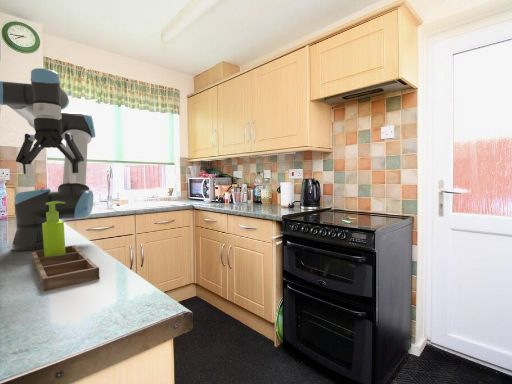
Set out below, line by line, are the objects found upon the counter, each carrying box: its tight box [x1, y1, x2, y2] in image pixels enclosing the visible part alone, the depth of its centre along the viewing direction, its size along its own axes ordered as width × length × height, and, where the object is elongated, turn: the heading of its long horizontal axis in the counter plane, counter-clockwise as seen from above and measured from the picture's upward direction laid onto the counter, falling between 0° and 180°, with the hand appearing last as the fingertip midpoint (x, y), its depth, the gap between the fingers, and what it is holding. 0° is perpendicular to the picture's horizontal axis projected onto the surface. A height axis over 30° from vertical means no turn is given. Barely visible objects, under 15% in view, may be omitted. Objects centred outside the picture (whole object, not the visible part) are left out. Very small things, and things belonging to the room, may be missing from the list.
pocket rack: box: [31, 244, 101, 292], centre depth 89 cm, size 36×12×3 cm, turn 41°
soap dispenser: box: [42, 201, 66, 257], centre depth 97 cm, size 6×7×20 cm
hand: (52, 183), depth 96 cm, fingers open, 13 cm apart
